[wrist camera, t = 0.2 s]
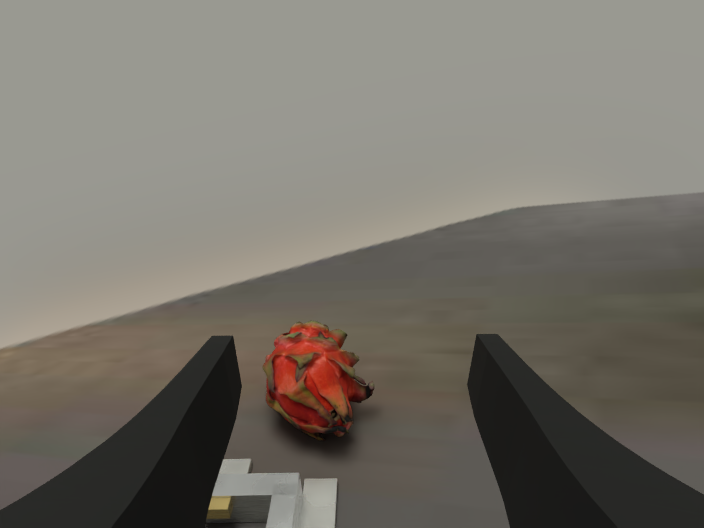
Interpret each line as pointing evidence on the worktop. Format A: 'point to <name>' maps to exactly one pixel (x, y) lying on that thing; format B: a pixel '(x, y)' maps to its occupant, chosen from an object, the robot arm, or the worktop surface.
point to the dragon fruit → (314, 380)
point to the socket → (271, 498)
